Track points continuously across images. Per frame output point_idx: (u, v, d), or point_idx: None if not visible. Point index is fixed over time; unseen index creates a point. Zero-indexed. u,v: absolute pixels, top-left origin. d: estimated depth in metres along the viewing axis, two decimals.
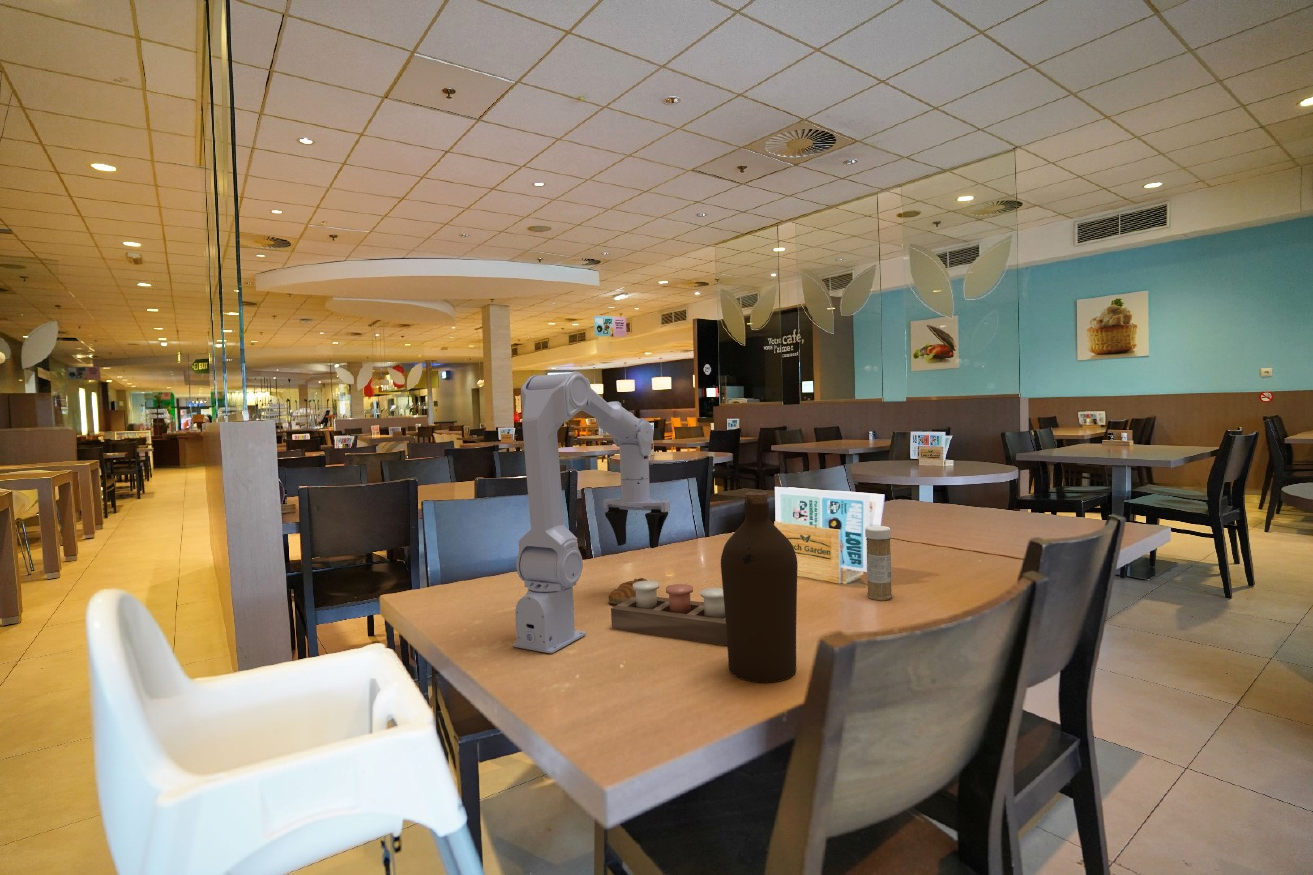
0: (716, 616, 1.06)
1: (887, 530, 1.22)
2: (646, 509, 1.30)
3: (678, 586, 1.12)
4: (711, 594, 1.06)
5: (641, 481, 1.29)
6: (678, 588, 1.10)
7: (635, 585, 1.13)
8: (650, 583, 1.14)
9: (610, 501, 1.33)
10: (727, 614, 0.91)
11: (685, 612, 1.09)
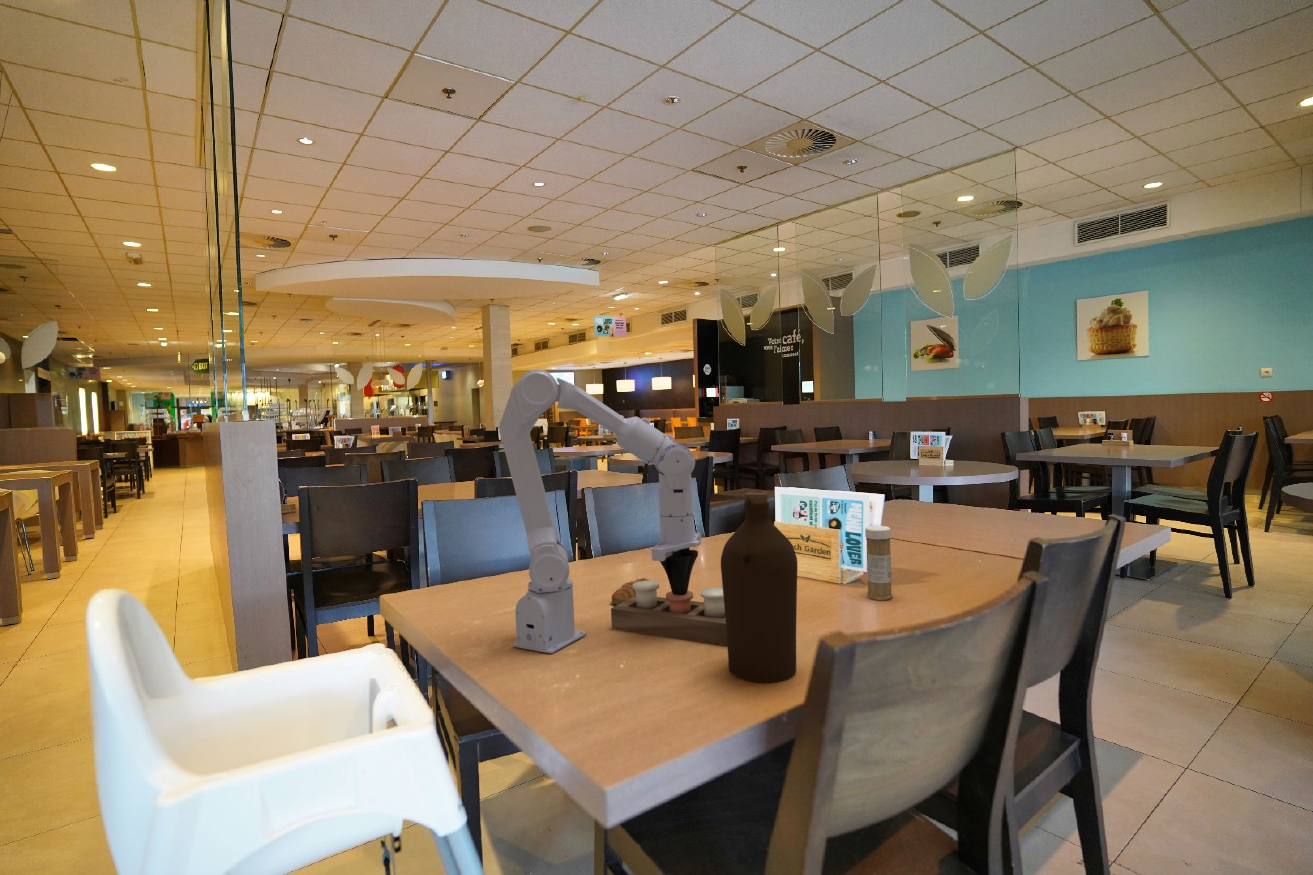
0: (716, 616, 1.06)
1: (887, 530, 1.22)
2: None
3: None
4: (711, 594, 1.06)
5: (662, 518, 1.09)
6: None
7: (635, 585, 1.13)
8: (650, 583, 1.14)
9: None
10: (727, 614, 0.91)
11: None
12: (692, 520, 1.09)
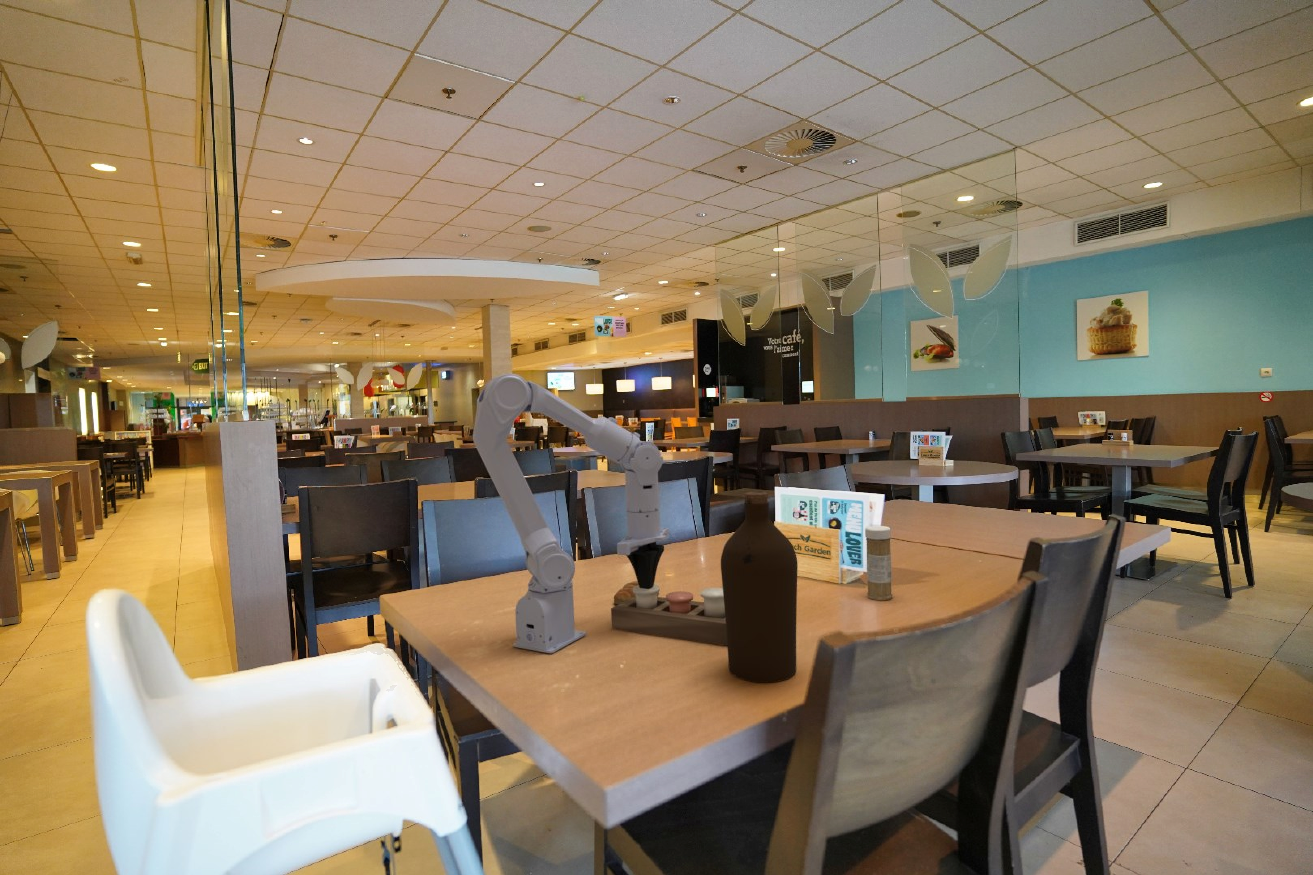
0: (716, 616, 1.06)
1: (887, 530, 1.22)
2: None
3: (678, 593, 1.12)
4: (711, 594, 1.06)
5: (628, 514, 1.12)
6: (679, 596, 1.10)
7: (635, 588, 1.13)
8: None
9: None
10: (727, 614, 0.91)
11: None
12: (658, 515, 1.12)
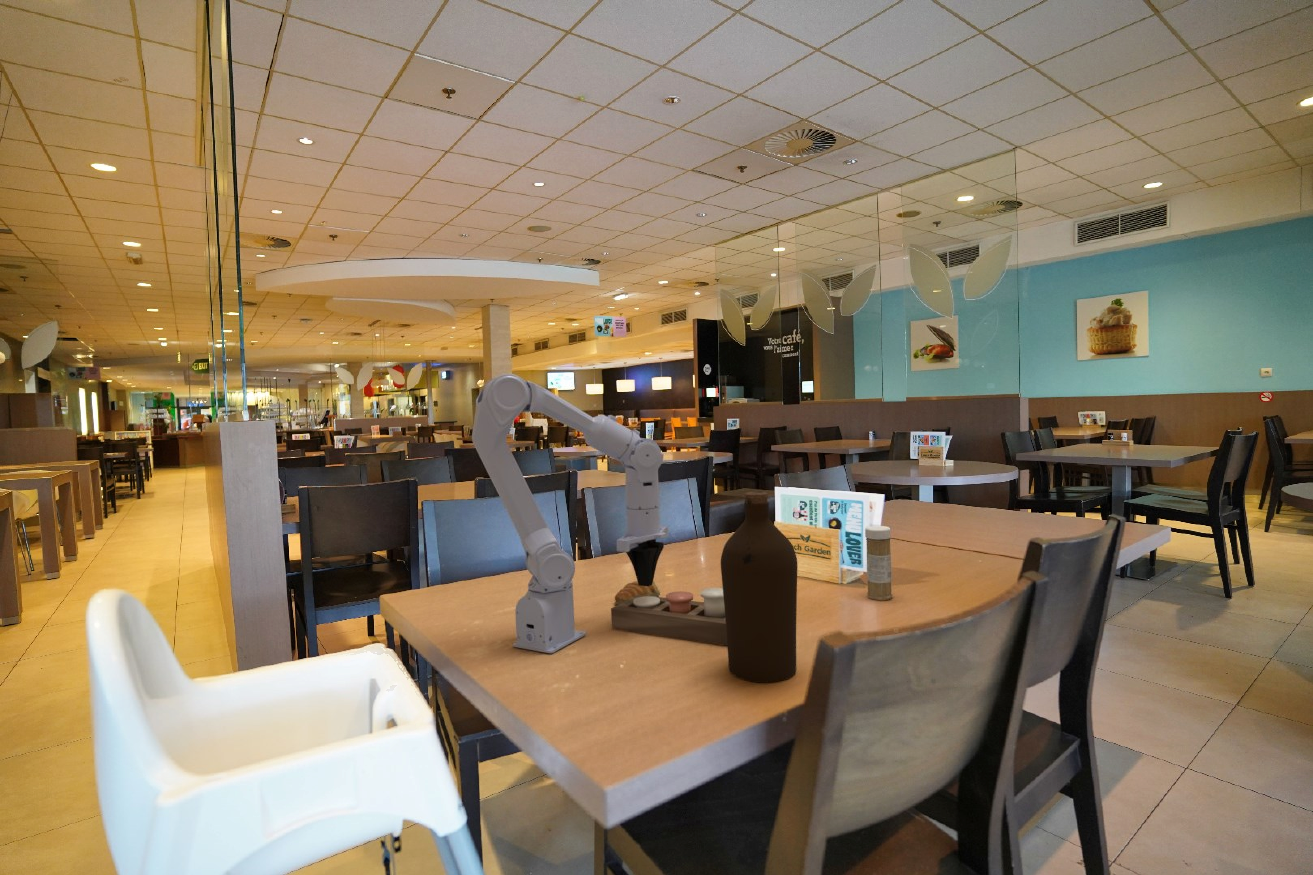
0: (716, 616, 1.06)
1: (887, 530, 1.22)
2: None
3: (678, 593, 1.12)
4: (711, 594, 1.06)
5: (628, 511, 1.12)
6: (679, 596, 1.10)
7: (636, 601, 1.13)
8: (651, 599, 1.14)
9: None
10: (727, 614, 0.91)
11: None
12: (658, 513, 1.12)
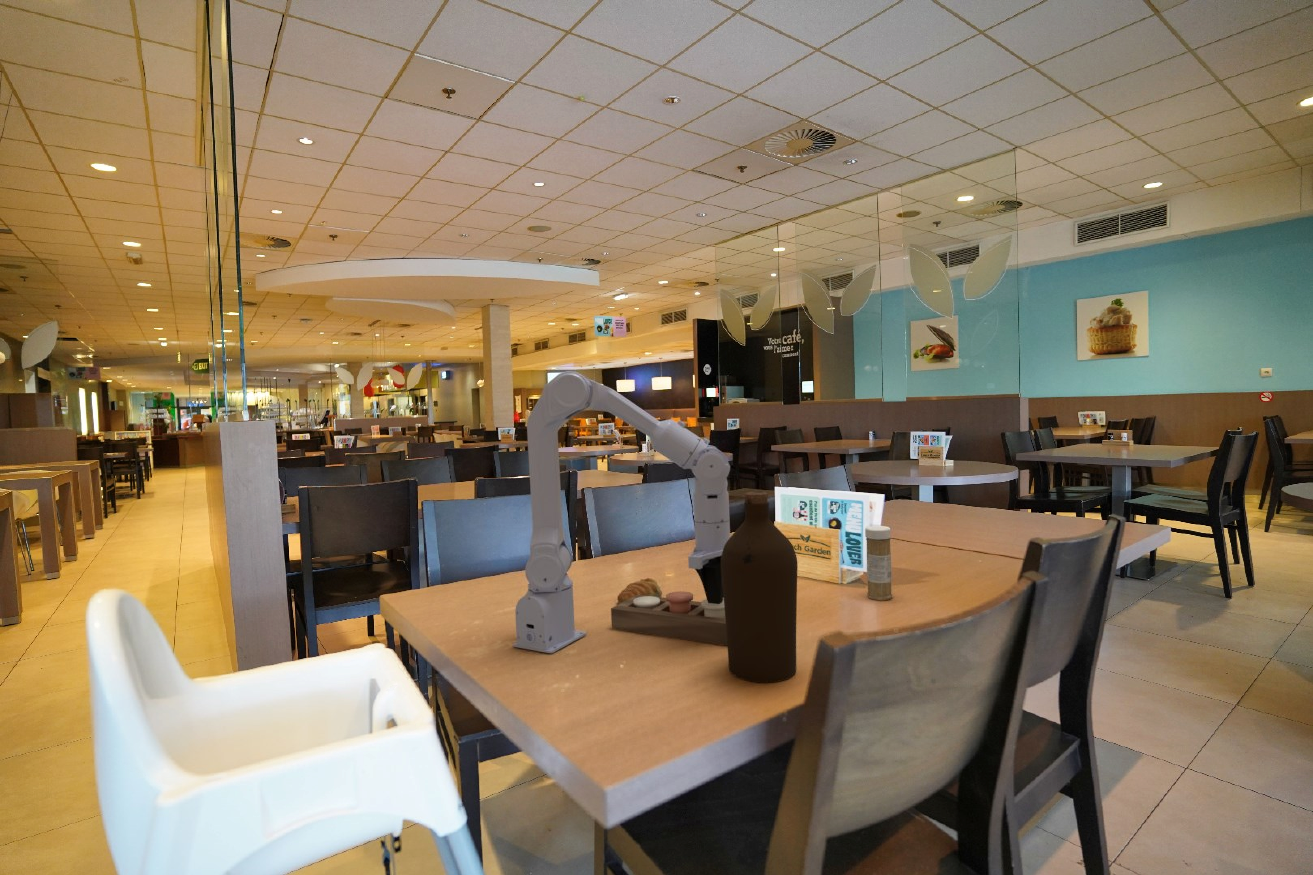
0: None
1: (887, 530, 1.22)
2: None
3: (678, 593, 1.12)
4: (711, 605, 1.06)
5: (697, 524, 1.06)
6: (679, 596, 1.10)
7: (636, 601, 1.13)
8: (651, 599, 1.14)
9: None
10: (727, 614, 0.91)
11: None
12: (728, 526, 1.06)
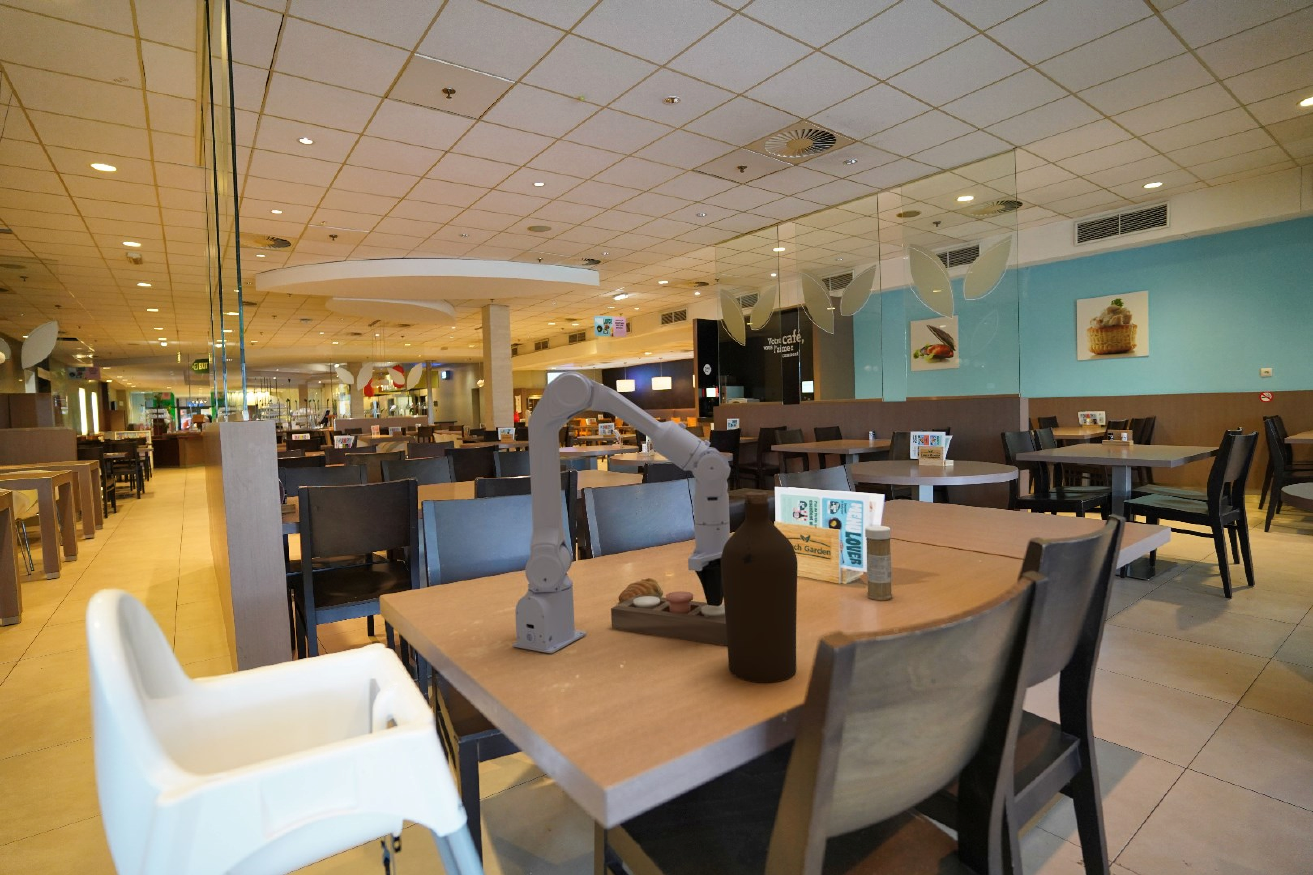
0: None
1: (887, 530, 1.22)
2: None
3: (678, 593, 1.12)
4: (712, 611, 1.06)
5: (697, 526, 1.06)
6: (679, 596, 1.10)
7: (636, 601, 1.13)
8: (651, 599, 1.14)
9: None
10: (727, 614, 0.91)
11: None
12: (728, 528, 1.06)
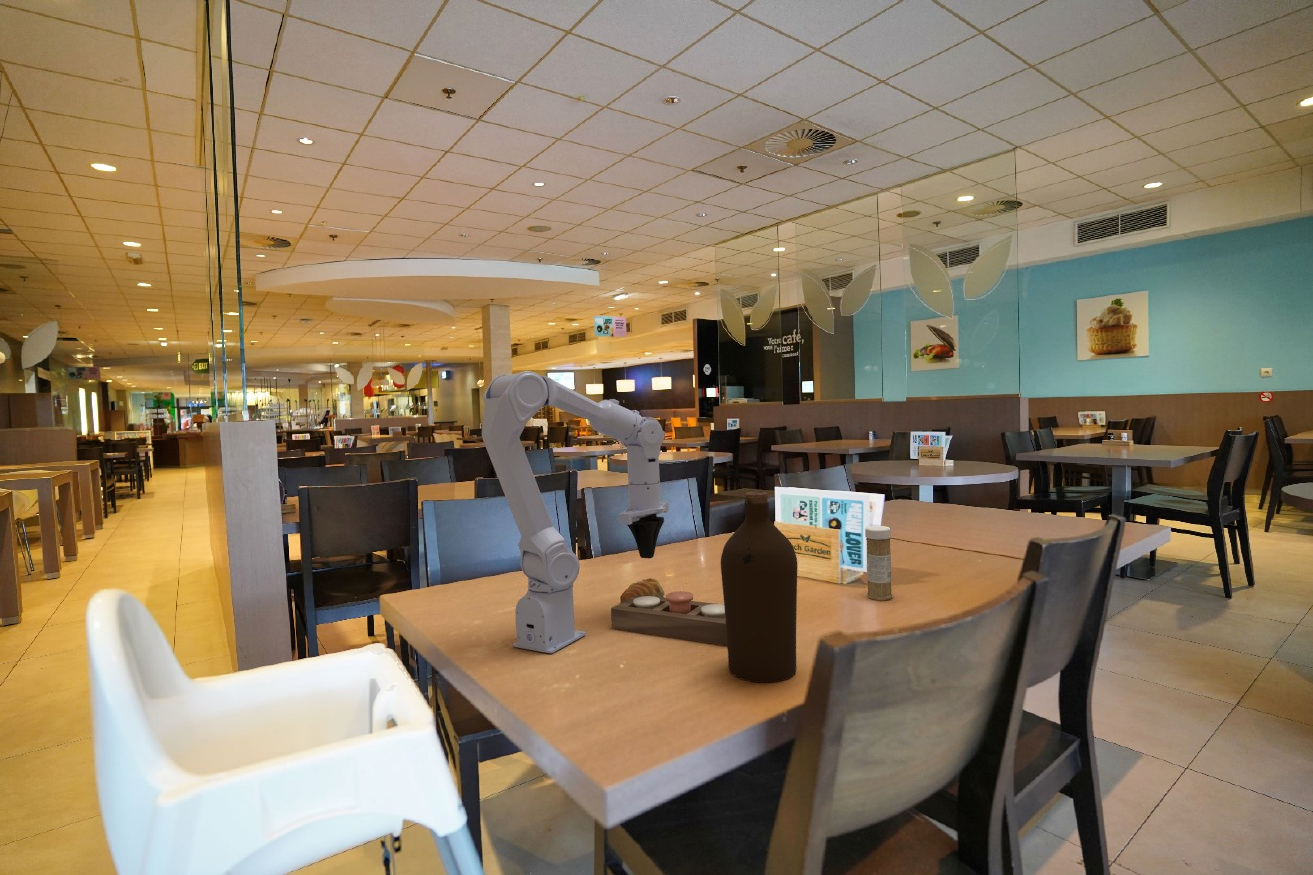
0: None
1: (887, 530, 1.22)
2: None
3: (678, 593, 1.12)
4: (712, 611, 1.06)
5: (630, 486, 1.17)
6: (679, 596, 1.10)
7: (636, 601, 1.13)
8: (651, 599, 1.14)
9: None
10: (727, 614, 0.91)
11: None
12: (658, 488, 1.18)
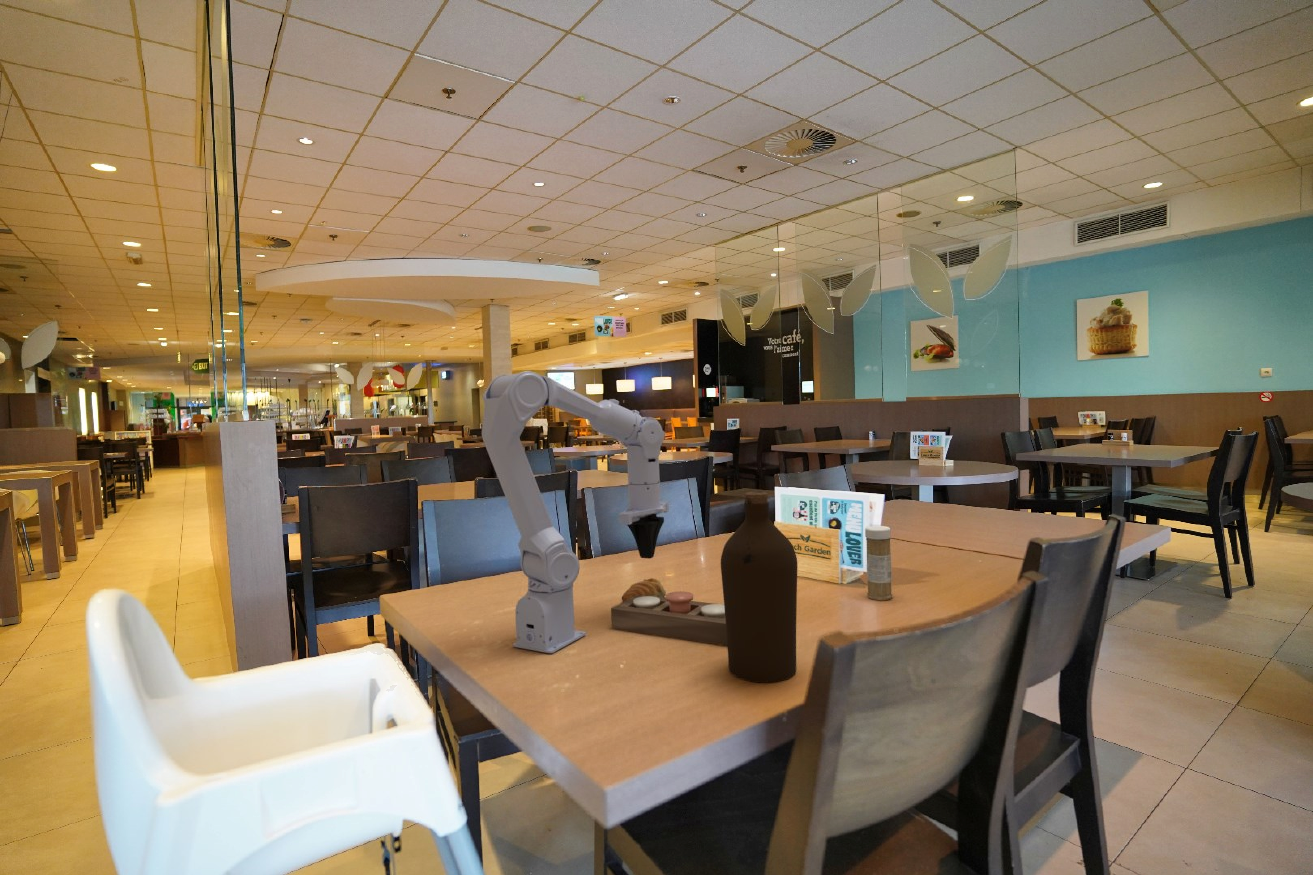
0: None
1: (887, 530, 1.22)
2: None
3: (678, 593, 1.12)
4: (712, 611, 1.06)
5: (630, 486, 1.17)
6: (679, 596, 1.10)
7: (636, 601, 1.13)
8: (651, 599, 1.14)
9: None
10: (727, 614, 0.91)
11: None
12: (658, 488, 1.18)
